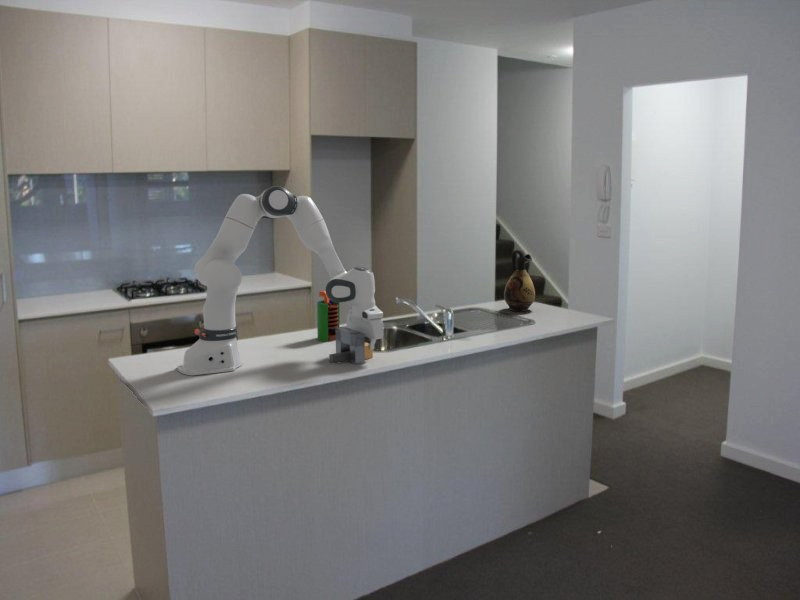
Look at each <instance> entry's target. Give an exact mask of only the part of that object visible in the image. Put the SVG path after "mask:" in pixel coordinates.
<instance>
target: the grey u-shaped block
mask: <svg viewBox="0 0 800 600" xmlns="http://www.w3.org/2000/svg"><path fill="white" fill-rule="evenodd" d="M347 351H350V361H349V363H351V364H353V365H359V364H365V363H366V362H365V361H366V359H365V335H364V333H362V332H359V331H356V330H353V329H350V328H347V326H341V327H340V326H339V328H336V340H335V353H341V352H347Z"/></svg>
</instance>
